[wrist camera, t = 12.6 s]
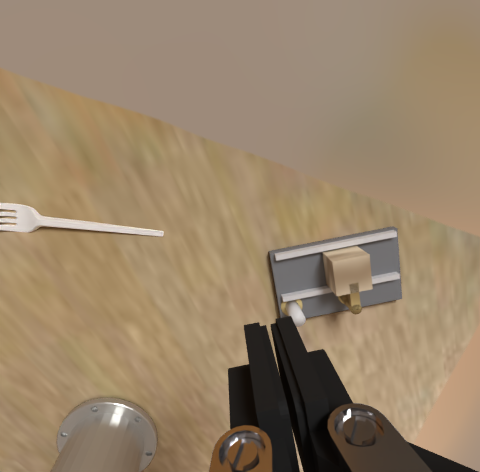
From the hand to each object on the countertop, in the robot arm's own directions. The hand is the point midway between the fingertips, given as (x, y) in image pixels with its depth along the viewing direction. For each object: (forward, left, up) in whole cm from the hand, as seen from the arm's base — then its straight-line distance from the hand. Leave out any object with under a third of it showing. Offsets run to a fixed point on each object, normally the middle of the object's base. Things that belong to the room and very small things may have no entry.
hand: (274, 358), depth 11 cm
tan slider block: (-9, -11, -26) cm, 30 cm away
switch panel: (-10, -10, -27) cm, 31 cm away
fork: (+2, +18, -28) cm, 33 cm away
